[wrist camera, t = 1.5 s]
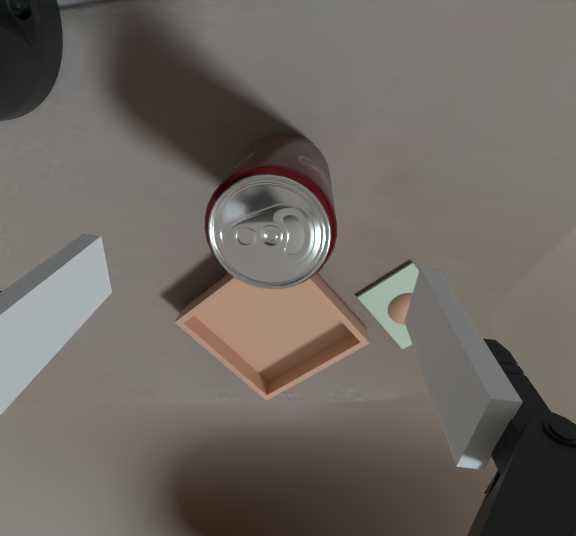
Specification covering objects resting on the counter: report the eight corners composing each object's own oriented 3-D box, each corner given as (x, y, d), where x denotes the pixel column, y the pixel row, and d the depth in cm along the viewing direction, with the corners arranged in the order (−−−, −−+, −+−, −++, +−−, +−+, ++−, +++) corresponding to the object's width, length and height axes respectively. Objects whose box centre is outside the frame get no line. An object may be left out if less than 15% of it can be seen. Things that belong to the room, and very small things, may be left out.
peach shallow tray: (183, 307, 37) (174, 322, 34) (281, 232, 32) (278, 244, 30) (269, 383, 41) (266, 400, 39) (366, 326, 36) (369, 343, 34)
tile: (357, 295, 34) (357, 298, 34) (412, 261, 32) (413, 263, 32) (402, 347, 37) (402, 349, 37) (455, 318, 35) (457, 321, 35)
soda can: (333, 133, 28) (344, 171, 17) (325, 222, 31) (331, 298, 21) (239, 129, 28) (194, 164, 17) (242, 217, 31) (206, 290, 21)
